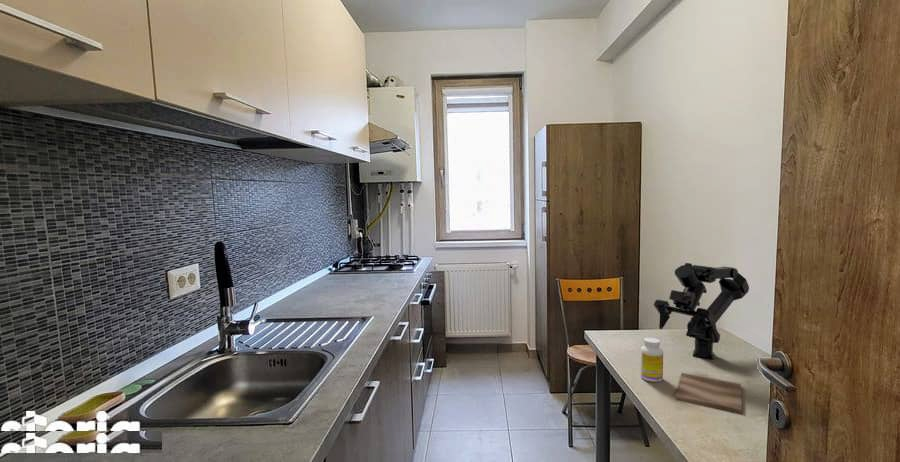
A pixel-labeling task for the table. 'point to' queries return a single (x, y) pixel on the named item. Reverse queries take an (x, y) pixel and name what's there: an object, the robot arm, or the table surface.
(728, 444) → the table surface
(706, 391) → the walnut board
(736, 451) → the table surface
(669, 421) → the table surface
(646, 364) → the supplement bottle
